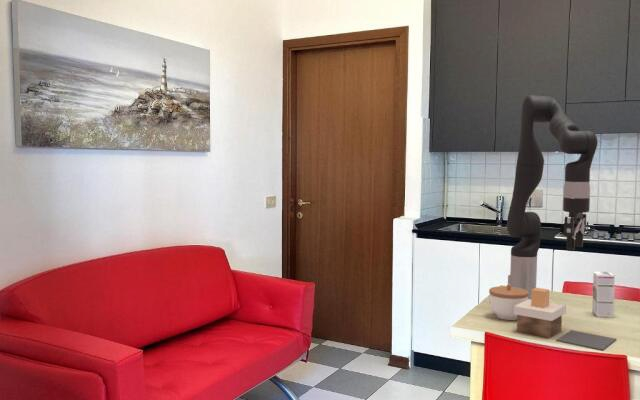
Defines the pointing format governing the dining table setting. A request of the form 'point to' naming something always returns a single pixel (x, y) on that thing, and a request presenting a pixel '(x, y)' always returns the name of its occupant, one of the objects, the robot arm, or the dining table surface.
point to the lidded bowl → (506, 300)
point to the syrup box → (603, 294)
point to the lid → (540, 306)
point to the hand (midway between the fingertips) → (574, 248)
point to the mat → (586, 340)
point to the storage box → (538, 326)
